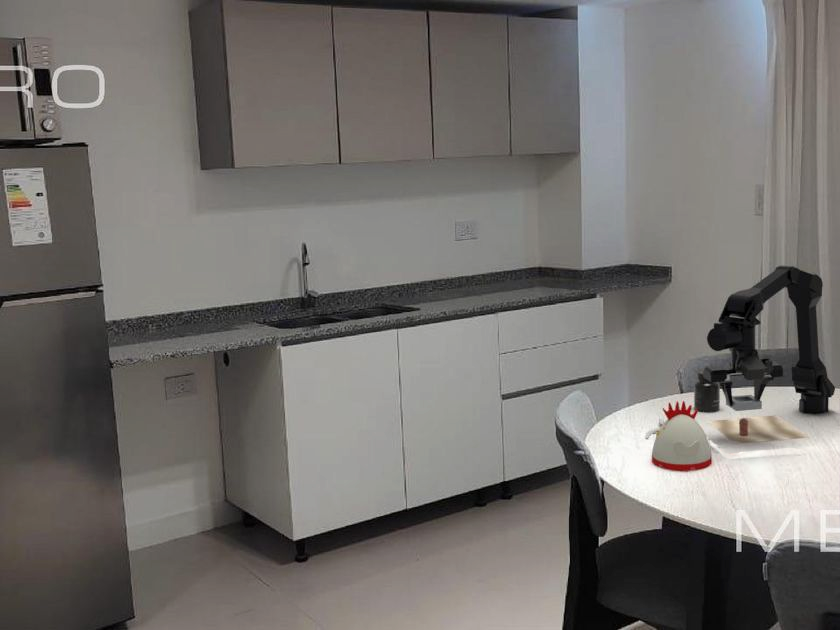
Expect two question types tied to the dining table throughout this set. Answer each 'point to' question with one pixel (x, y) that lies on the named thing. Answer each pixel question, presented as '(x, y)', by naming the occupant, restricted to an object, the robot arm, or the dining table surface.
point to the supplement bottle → (706, 395)
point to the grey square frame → (745, 403)
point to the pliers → (654, 429)
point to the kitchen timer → (681, 442)
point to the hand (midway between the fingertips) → (743, 404)
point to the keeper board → (756, 429)
